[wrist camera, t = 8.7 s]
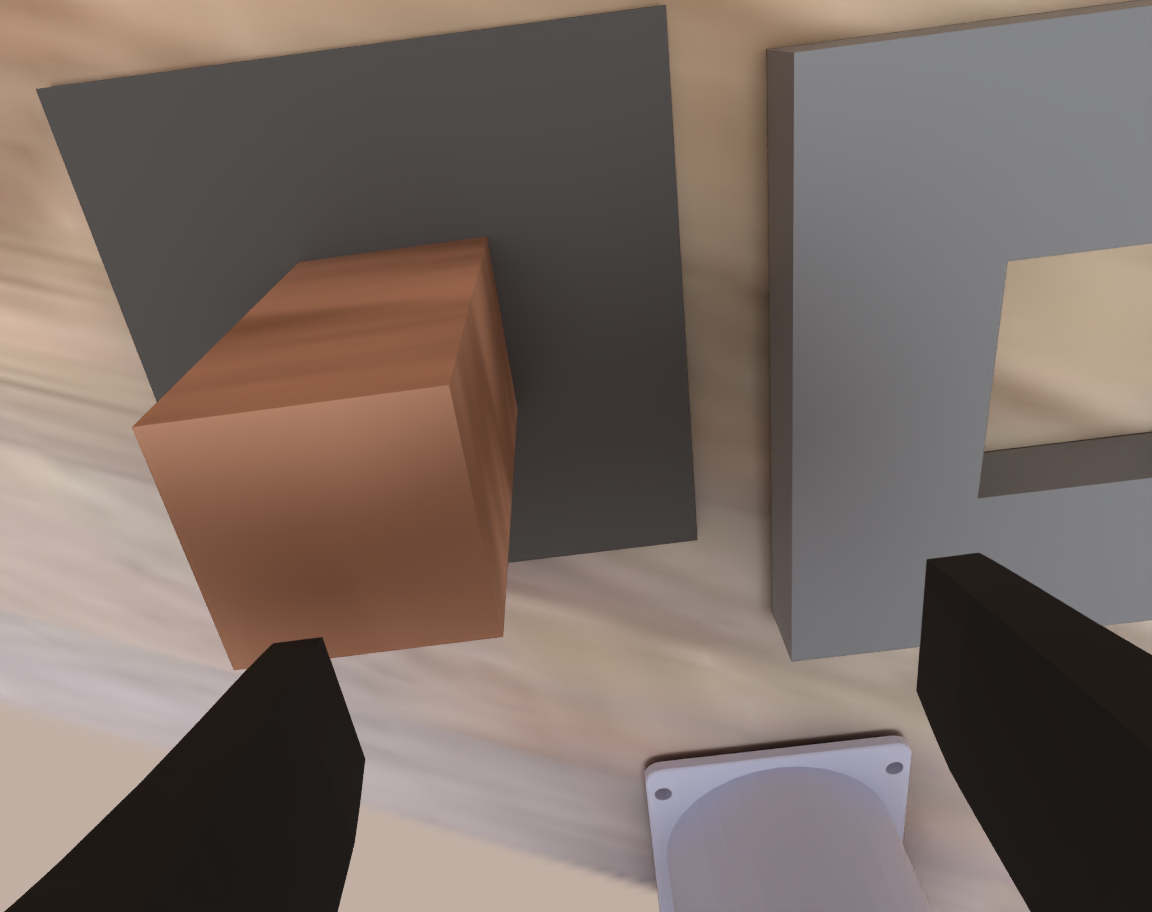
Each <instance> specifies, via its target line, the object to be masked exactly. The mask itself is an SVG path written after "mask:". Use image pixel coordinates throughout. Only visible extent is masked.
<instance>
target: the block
mask: <svg viewBox="0 0 1152 912" xmlns="http://www.w3.org/2000/svg"><path fill="white" fill-rule="evenodd" d="M516 425H517V404H516V398H515V392H514V387H513V381H512V375H511V370H510V364H509V358H508V353H507V347H506V341H505V336H504V330H503V324H502V319H501V313H500V307H499V302H498V296H497V290H496V285H495V279H494V273H493V268H492V262H491V256H490V251H489V245H488V239H487V236H486V237H478V238H471V239H464V240H457V241H449V242H442V243H435V244H428V245H420V246H413V247H406V248H399V249H391V250H384V251H377V252H369V253H362V254H355V255H348V256H340V257H333V258H326V259H319V260H311V261H304V262H298V263H297V264H296V265H295V266H294V267H293V268H292V269H291V270H290V271H289V272H288V273H287V274H286V275H285V276H284V277H283V278H282V279H281V280H280V281H279V282H278V283H277V284H276V285H275V286H274V287H273V288H272V289H271V290H270V291H269V292H268V293H267V294H266V295H265V296H264V297H263V298H262V299H261V300H260V301H259V302H258V303H257V304H256V305H255V306H254V307H253V308H252V309H251V310H250V311H249V312H248V313H247V314H246V315H245V316H244V317H243V318H242V319H241V320H240V321H239V322H238V323H237V324H236V325H235V326H234V327H233V328H232V329H231V330H230V331H229V332H228V333H227V334H226V335H225V336H224V337H223V338H222V339H221V340H220V341H219V342H218V343H216V344H215V345H214V346H213V347H212V348H211V349H210V350H209V351H208V352H207V353H206V354H205V355H204V356H203V357H202V358H201V359H200V360H199V361H198V362H197V363H196V364H195V365H194V366H193V367H192V368H191V369H190V370H189V371H188V372H187V373H186V374H185V375H184V376H183V377H182V378H181V379H180V380H179V381H178V382H177V383H176V384H175V385H174V386H173V387H172V388H171V389H170V390H169V391H168V392H167V393H166V394H165V395H164V396H163V397H162V398H161V399H160V400H159V401H158V402H157V403H156V404H155V405H154V406H153V407H152V408H151V409H150V410H149V411H148V412H147V413H146V414H145V415H144V416H143V417H142V418H141V419H140V420H139V421H138V422H137V423H136V424H135V425H134V426H133V427H132V429H133V431H134V433H135V436H136V438H137V441H138V443H139V445H140V448H141V450H142V452H143V455H144V457H145V460H146V462H147V464H148V467H149V469H150V472H151V474H152V476H153V479H154V481H155V483H156V486H157V488H158V491H159V493H160V495H161V498H162V500H163V502H164V505H165V507H166V510H167V512H168V514H169V517H170V519H171V521H172V524H173V526H174V529H175V531H176V533H177V536H178V538H179V541H180V543H181V545H182V548H183V550H184V552H185V555H186V557H187V560H188V562H189V564H190V567H191V569H192V571H193V574H194V576H195V579H196V581H197V583H198V586H199V588H200V591H201V593H202V595H203V598H204V600H205V602H206V605H207V607H208V610H209V612H210V614H211V617H212V619H213V621H214V624H215V626H216V629H217V631H218V633H219V636H220V638H221V640H222V643H223V645H224V648H225V650H226V652H227V655H228V657H229V660H230V662H231V664H232V667H233V669H234V670H239V669H247V668H249V667H250V666H251V665H252V664H253V663H254V662H255V661H256V660H257V658H258V657H259V656H260V655H261V654H262V653H263V652H264V651H265V650H267V649H268V648H269V647H270V646H271V645H272V644H273V643H279V642H287V641H294V640H302V639H310V638H318V637H323V640H324V643H325V646H326V648H327V651H328V654H329V657H330V658H336V657H344V656H352V655H360V654H368V653H376V652H384V651H392V650H400V649H408V648H416V647H424V646H432V645H440V644H448V643H456V642H464V641H473V640H481V639H489V638H497V637H503V631H504V615H505V599H506V583H507V568H508V552H509V536H510V520H511V504H512V489H513V473H514V457H515V441H516Z"/></svg>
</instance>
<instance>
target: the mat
mask: <svg viewBox="0 0 1152 912" xmlns="http://www.w3.org/2000/svg"><path fill="white" fill-rule="evenodd" d="M36 91H37V94H38V96H39V99H40V101H41V104H42V107H43V109H44V112H45V114H46V117H47V119H48V122H49V125H50V127H51V130H52V132H53V135H54V137H55V140H56V143H57V145H58V148H59V150H60V153H61V156H62V158H63V161H64V163H65V166H66V168H67V171H68V174H69V176H70V179H71V181H72V184H73V187H74V189H75V192H76V194H77V197H78V199H79V202H80V205H81V207H82V210H83V212H84V215H85V217H86V220H87V223H88V225H89V228H90V230H91V233H92V236H93V238H94V241H95V243H96V246H97V248H98V251H99V254H100V256H101V259H102V261H103V264H104V266H105V269H106V272H107V274H108V277H109V279H110V282H111V285H112V287H113V290H114V292H115V295H116V297H117V300H118V303H119V305H120V308H121V310H122V313H123V315H124V318H125V321H126V323H127V326H128V328H129V331H130V334H131V336H132V339H133V341H134V344H135V346H136V349H137V352H138V354H139V357H140V359H141V362H142V365H143V367H144V370H145V372H146V375H147V377H148V380H149V383H150V385H151V388H152V390H153V393H154V395H155V398H156V401H157V402H158V401H159V400H160V399H161V398H162V397H163V396H164V395H165V394H166V393H167V392H168V391H169V390H170V389H171V388H172V387H173V386H174V385H175V384H176V383H177V382H178V381H179V380H180V379H181V378H182V377H183V376H184V375H185V374H186V373H187V372H188V371H189V370H190V369H191V368H192V367H193V366H194V365H195V364H196V363H197V362H198V361H199V360H200V359H201V358H202V357H203V356H204V355H205V354H206V353H207V352H208V351H209V350H210V349H211V348H212V347H213V346H214V345H215V344H216V343H218V342H219V341H220V340H221V339H222V338H223V337H224V336H225V335H226V334H227V333H228V332H229V331H230V330H231V329H232V328H233V327H234V326H235V325H236V324H237V323H238V322H239V321H240V320H241V319H242V318H243V317H244V316H245V315H246V314H247V313H248V312H249V311H250V310H251V309H252V308H253V307H254V306H255V305H256V304H257V303H258V302H259V301H260V300H261V299H262V298H263V297H264V296H265V295H266V294H267V293H268V292H269V291H270V290H271V289H272V288H273V287H274V286H275V285H276V284H277V283H278V282H279V281H280V280H281V279H282V278H283V277H284V276H285V275H286V274H287V273H288V272H289V271H290V270H291V269H292V268H293V267H294V266H295V265H296V264H297V263H298V262H304V261H311V260H319V259H326V258H333V257H340V256H348V255H355V254H362V253H369V252H377V251H384V250H391V249H399V248H406V247H413V246H420V245H428V244H435V243H442V242H449V241H457V240H464V239H471V238H478V237H486V236H487V239H488V245H489V251H490V256H491V262H492V268H493V273H494V279H495V285H496V290H497V296H498V302H499V307H500V313H501V319H502V324H503V330H504V336H505V341H506V347H507V353H508V358H509V364H510V370H511V375H512V381H513V387H514V392H515V398H516V404H517V425H516V441H515V457H514V473H513V489H512V504H511V520H510V536H509V552H508V563H509V562H517V561H526V560H534V559H543V558H551V557H559V556H568V555H576V554H585V553H593V552H601V551H610V550H618V549H627V548H635V547H643V546H652V545H660V544H669V543H677V542H685V541H694V540H697V524H696V507H695V490H694V474H693V457H692V440H691V423H690V406H689V390H688V373H687V356H686V339H685V322H684V306H683V289H682V272H681V255H680V238H679V222H678V205H677V188H676V171H675V154H674V138H673V121H672V104H671V87H670V70H669V54H668V37H667V20H666V5H661V6H654V7H646V8H639V9H631V10H624V11H617V12H609V13H602V14H594V15H587V16H579V17H572V18H564V19H557V20H549V21H542V22H534V23H527V24H519V25H512V26H504V27H497V28H489V29H482V30H474V31H467V32H460V33H452V34H445V35H437V36H430V37H422V38H415V39H407V40H400V41H392V42H385V43H377V44H370V45H362V46H355V47H347V48H340V49H332V50H325V51H318V52H310V53H303V54H295V55H288V56H280V57H273V58H265V59H258V60H250V61H243V62H235V63H228V64H220V65H213V66H205V67H198V68H190V69H183V70H175V71H168V72H161V73H153V74H146V75H138V76H131V77H123V78H116V79H108V80H101V81H93V82H86V83H78V84H71V85H63V86H56V87H48V88H41V89H36Z"/></svg>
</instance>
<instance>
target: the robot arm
mask: <svg viewBox="0 0 1152 912" xmlns="http://www.w3.org/2000/svg"><path fill="white" fill-rule="evenodd" d="M916 691H917V693H918V696H919V698H920V701H921V703H922V706H923V708H924V711H925V713H926V716H927V718H928V720H929V723H930V725H931V728H932V730H933V733H934V735H935V737H936V740H937V742H938V744H939V747H940V749H941V751H942V753H943V756H944V758H945V760H946V763H947V765H948V767H949V770H950V771H951V773H952V775H953V777H954V779H955V780H956V782H957V784H958V786H959V788H960V789H961V791H962V793H963V795H964V797H965V798H966V800H967V802H968V804H969V805H970V807H971V809H972V811H973V812H974V814H975V816H976V818H977V819H978V821H979V823H980V825H981V826H982V828H983V830H984V832H985V833H986V835H987V837H988V839H989V840H990V842H991V844H992V846H993V847H994V849H995V851H996V853H997V854H998V856H999V858H1000V859H1001V861H1002V863H1003V865H1004V866H1005V868H1006V870H1007V872H1008V873H1009V875H1010V877H1011V878H1012V880H1013V882H1014V884H1015V885H1016V887H1017V889H1018V891H1019V892H1020V894H1021V896H1022V897H1023V899H1024V901H1025V903H1026V904H1027V906H1028V908H1029V910H1030V911H1031V912H1152V655H1151V654H1149V653H1147V652H1145V651H1144V650H1142V649H1140V648H1139V647H1137V646H1135V645H1133V644H1132V643H1130V642H1128V641H1127V640H1125V639H1123V638H1122V637H1120V636H1118V635H1116V634H1115V633H1113V632H1111V631H1110V630H1108V629H1106V628H1105V627H1103V626H1101V625H1100V624H1098V623H1096V622H1095V621H1093V620H1091V619H1090V618H1088V617H1086V616H1085V615H1083V614H1082V613H1080V612H1078V611H1077V610H1075V609H1073V608H1072V607H1070V606H1068V605H1067V604H1065V603H1063V602H1062V601H1060V600H1059V599H1057V598H1055V597H1054V596H1052V595H1050V594H1049V593H1047V592H1045V591H1044V590H1042V589H1041V588H1039V587H1037V586H1036V585H1034V584H1032V583H1031V582H1029V581H1027V580H1026V579H1024V578H1022V577H1021V576H1019V575H1018V574H1016V573H1014V572H1012V571H1011V570H1009V569H1007V568H1006V567H1004V566H1002V565H1001V564H999V563H997V562H995V561H994V560H992V559H990V558H988V557H986V556H985V555H983V554H981V553H972V554H964V555H956V556H948V557H940V558H933V559H927V560H926V573H925V586H924V599H923V612H922V625H921V638H920V651H919V664H918V677H917V690H916ZM911 755H912V752H911V748H910V746H909V744H908V742H907V741H906V740H905V739H904V738H903V737H900V736H883V737H874V738H865V739H857V740H848V741H839V742H830V743H821V744H812V745H804V746H795V747H786V748H777V749H768V750H759V751H750V752H742V753H733V754H724V755H715V756H706V757H697V758H689V759H680V760H671V761H662V762H657V763H653V764H652V765H650V766H649V767H648V768H647V769H646V770H645V775H644V776H645V785H646V794H647V802H648V811H649V820H650V829H651V838H652V847H653V855H654V864H655V873H656V882H657V891H658V900H659V908H660V912H932V911H931V908H930V906H929V904H928V901H927V899H926V897H925V895H924V892H923V890H922V888H921V886H920V883H919V881H918V879H917V876H916V874H915V872H914V870H913V867H912V865H911V863H910V860H909V858H908V856H907V854H906V851H905V849H904V847H903V836H904V826H905V816H906V806H907V796H908V786H909V775H910V765H911ZM890 763H892V764H890ZM364 765H365V757H364V754H363V751H362V748H361V746H360V743H359V740H358V737H357V734H356V731H355V728H354V726H353V723H352V720H351V717H350V714H349V711H348V708H347V706H346V703H345V700H344V697H343V694H342V691H341V688H340V686H339V683H338V680H337V677H336V674H335V671H334V668H333V666H332V663H331V660H330V657H329V654H328V651H327V648H326V646H325V643H324V640H323V637H318V638H310V639H302V640H294V641H287V642H279V643H273V644H272V645H271V646H270V647H269V648H268V649H267V650H265V651H264V652H263V653H262V654H261V655H260V656H259V657H258V658H257V660H256V661H255V662H254V663H253V664H252V665H251V666H250V667H249V668H248V669H247V670H246V671H245V672H244V673H243V674H242V675H241V676H240V677H239V679H238V680H237V681H236V682H235V683H234V684H233V685H232V686H231V687H230V688H229V689H228V690H227V691H226V693H225V694H224V695H223V696H222V697H221V698H220V699H219V700H218V701H217V702H216V703H215V704H214V705H213V707H212V708H211V709H210V710H209V711H208V712H207V713H206V714H205V715H204V716H203V717H202V718H201V719H200V721H199V722H198V723H197V724H196V725H195V726H194V727H193V728H192V729H191V730H190V731H189V732H188V733H187V734H186V735H185V736H184V737H183V739H182V740H181V741H180V742H179V743H178V744H177V745H176V746H175V747H174V748H173V749H172V750H171V751H170V752H169V753H168V754H167V755H166V757H164V759H163V760H162V761H161V762H160V763H159V764H158V765H157V766H156V767H155V768H154V769H153V770H152V771H151V772H150V773H149V774H148V775H147V777H146V778H144V780H143V781H142V782H141V783H140V784H139V785H138V786H137V787H136V788H135V789H134V790H132V792H131V793H129V794H128V796H126V798H124V799H123V800H122V801H121V802H120V803H119V804H118V805H117V806H116V807H115V808H114V809H113V810H112V811H111V812H110V813H109V814H108V815H107V816H106V817H105V818H104V819H103V820H102V821H101V822H100V823H99V824H98V825H97V826H96V827H95V828H94V829H93V830H92V831H91V832H90V833H89V834H88V835H87V836H85V837H84V838H83V840H81V841H80V842H79V843H78V844H77V845H76V846H75V847H74V848H73V849H72V850H71V851H70V852H69V853H68V854H67V855H66V856H65V857H64V858H63V859H62V860H61V861H60V862H59V863H58V864H57V865H56V866H54V867H53V868H52V869H51V870H50V871H49V872H48V873H47V874H46V875H45V876H44V877H43V878H41V879H40V880H39V881H38V882H37V883H36V884H35V885H34V886H33V887H31V888H30V889H29V890H28V891H27V892H26V893H25V894H24V895H23V896H22V897H20V898H19V899H18V900H17V901H16V902H15V903H14V904H13V905H11V906H10V907H9V908H8V909H7V910H6V911H4V912H338V908H339V904H340V899H341V895H342V892H343V888H344V884H345V880H346V875H347V872H348V868H349V864H350V859H351V855H352V851H353V847H354V843H355V836H356V829H357V822H358V815H359V808H360V800H361V791H362V783H363V774H364ZM662 788H666V789H663V790H660V789H662Z"/></svg>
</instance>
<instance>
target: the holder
mask: <svg viewBox="0 0 1152 912" xmlns="http://www.w3.org/2000/svg"><path fill="white" fill-rule="evenodd" d="M767 117H768V222H769V326H770V431H771V535H772V613H773V615H774V618H775V620H776V623H777V626H778V628H779V631H780V633H781V636H782V638H783V641H784V643H785V646H786V649H787V651H788V654H789V656H790V659H791V661H792V662H793V661H802V660H810V659H819V658H828V657H836V656H845V655H854V654H862V653H871V652H880V651H888V650H897V649H906V648H914V647H920V638H921V625H922V612H923V599H924V586H925V573H926V560H927V559H933V558H940V557H948V556H956V555H964V554H972V553H981V554H983V555H985V556H986V557H988V558H990V559H992V560H994V561H995V562H997V563H999V564H1001V565H1002V566H1004V567H1006V568H1007V569H1009V570H1011V571H1012V572H1014V573H1016V574H1018V575H1019V576H1021V577H1022V578H1024V579H1026V580H1027V581H1029V582H1031V583H1032V584H1034V585H1036V586H1037V587H1039V588H1041V589H1042V590H1044V591H1045V592H1047V593H1049V594H1050V595H1052V596H1054V597H1055V598H1057V599H1059V600H1060V601H1062V602H1063V603H1065V604H1067V605H1068V606H1070V607H1072V608H1073V609H1075V610H1077V611H1078V612H1080V613H1082V614H1083V615H1085V616H1086V617H1088V618H1090V619H1091V620H1093V621H1095V622H1096V623H1098V624H1100V625H1101V626H1105V625H1114V624H1122V623H1131V622H1140V621H1148V620H1152V432H1151V433H1143V434H1134V435H1126V436H1118V437H1110V438H1101V439H1093V440H1085V441H1076V442H1068V443H1060V444H1051V445H1043V446H1035V447H1027V448H1018V449H1010V450H1002V451H993V452H985V453H983V452H984V444H985V436H986V428H987V421H988V413H989V405H990V397H991V389H992V381H993V373H994V365H995V357H996V349H997V341H998V333H999V325H1000V317H1001V309H1002V301H1003V293H1004V285H1005V277H1006V270H1007V262H1008V261H1014V260H1022V259H1030V258H1038V257H1046V256H1054V255H1062V254H1070V253H1078V252H1086V251H1094V250H1102V249H1110V248H1118V247H1126V246H1134V245H1142V244H1150V243H1152V0H1136V1H1129V2H1121V3H1113V4H1106V5H1098V6H1091V7H1083V8H1076V9H1068V10H1060V11H1053V12H1045V13H1038V14H1030V15H1023V16H1015V17H1008V18H1000V19H992V20H985V21H977V22H970V23H962V24H955V25H947V26H939V27H932V28H924V29H917V30H909V31H902V32H894V33H887V34H879V35H871V36H864V37H856V38H849V39H841V40H834V41H826V42H818V43H811V44H803V45H796V46H788V47H781V48H773V49H767Z"/></svg>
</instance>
